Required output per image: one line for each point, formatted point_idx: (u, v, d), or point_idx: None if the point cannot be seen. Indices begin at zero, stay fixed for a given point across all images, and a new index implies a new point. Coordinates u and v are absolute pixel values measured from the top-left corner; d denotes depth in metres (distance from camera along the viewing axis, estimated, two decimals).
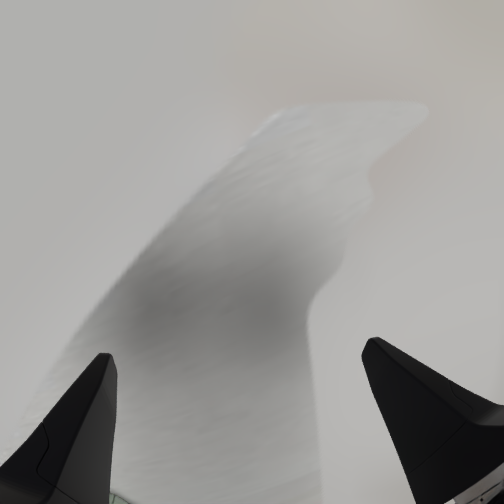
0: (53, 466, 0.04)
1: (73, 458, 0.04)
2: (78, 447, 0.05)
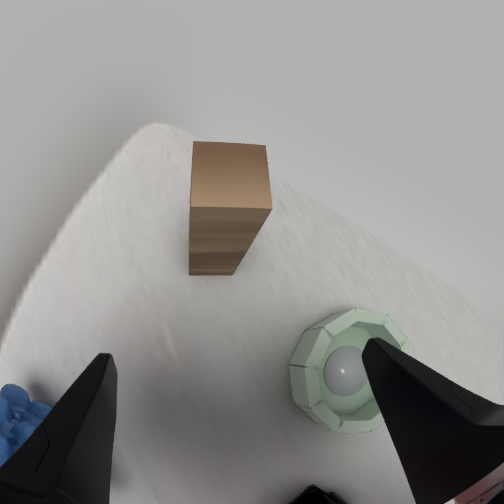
0: (53, 466, 0.04)
1: (73, 458, 0.04)
2: (78, 447, 0.05)
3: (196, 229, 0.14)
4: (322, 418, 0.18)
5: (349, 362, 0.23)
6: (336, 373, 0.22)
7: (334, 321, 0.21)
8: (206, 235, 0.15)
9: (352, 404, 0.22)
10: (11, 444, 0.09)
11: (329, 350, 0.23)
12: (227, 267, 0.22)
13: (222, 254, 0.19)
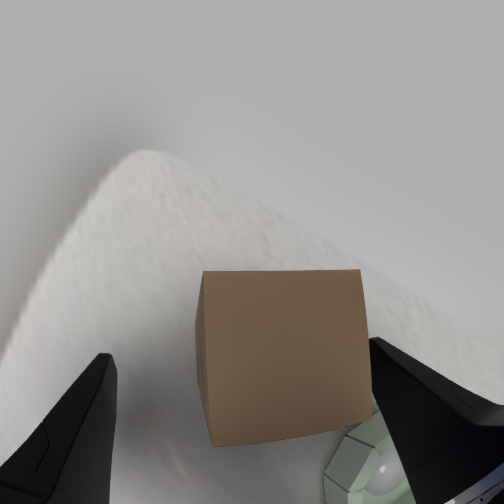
0: (53, 466, 0.04)
1: (73, 458, 0.04)
2: (78, 447, 0.05)
3: None
4: None
5: (392, 462, 0.15)
6: (377, 476, 0.15)
7: (387, 437, 0.13)
8: None
9: (389, 499, 0.14)
10: None
11: None
12: None
13: None
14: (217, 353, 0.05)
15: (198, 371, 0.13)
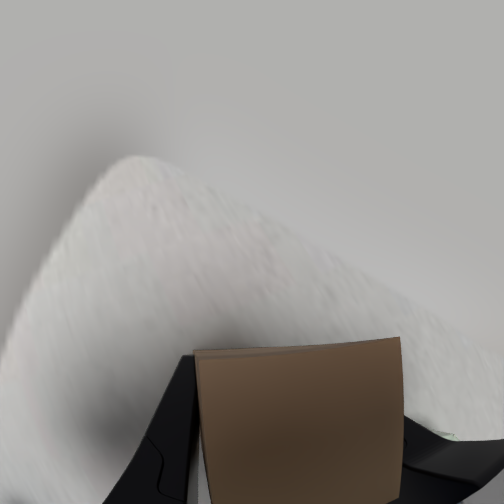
0: (179, 481, 0.04)
1: (190, 467, 0.05)
2: (192, 455, 0.05)
3: None
4: None
5: None
6: None
7: None
8: None
9: None
10: None
11: None
12: None
13: None
14: (222, 460, 0.04)
15: None
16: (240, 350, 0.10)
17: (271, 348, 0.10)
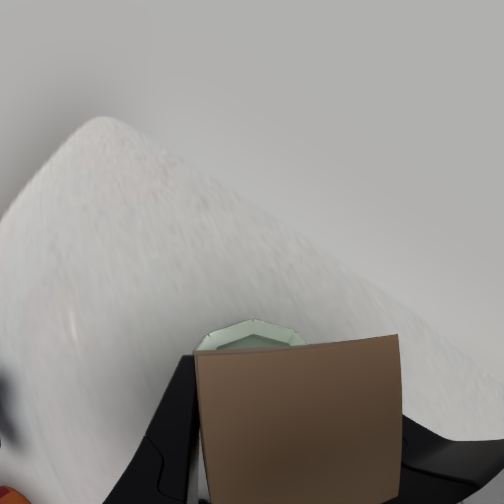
0: (179, 480, 0.04)
1: (190, 467, 0.05)
2: (192, 455, 0.05)
3: None
4: None
5: None
6: None
7: (223, 330, 0.19)
8: None
9: None
10: None
11: None
12: None
13: None
14: (220, 456, 0.04)
15: None
16: None
17: None
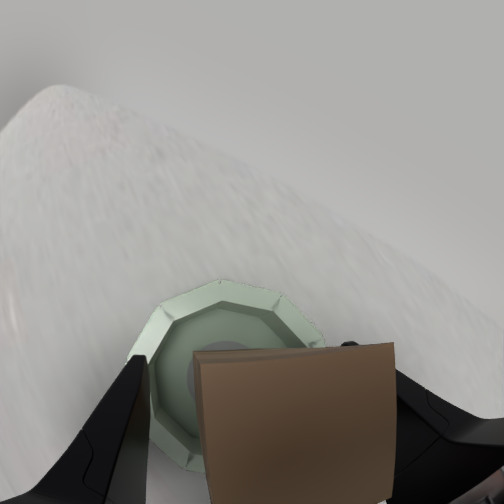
0: (102, 475, 0.04)
1: (119, 465, 0.05)
2: (123, 453, 0.05)
3: None
4: (157, 443, 0.11)
5: None
6: None
7: (179, 297, 0.14)
8: None
9: None
10: None
11: (197, 345, 0.16)
12: None
13: None
14: (222, 458, 0.04)
15: None
16: (239, 352, 0.10)
17: (270, 350, 0.10)
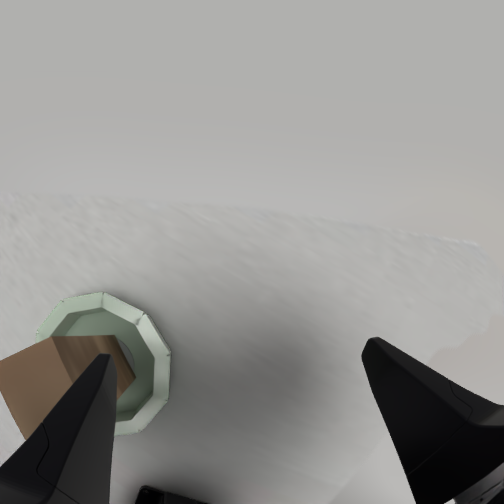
0: (53, 466, 0.04)
1: (73, 458, 0.04)
2: (78, 447, 0.05)
3: None
4: None
5: None
6: None
7: (45, 322, 0.16)
8: None
9: (130, 398, 0.19)
10: None
11: None
12: None
13: None
14: (9, 403, 0.07)
15: None
16: None
17: None
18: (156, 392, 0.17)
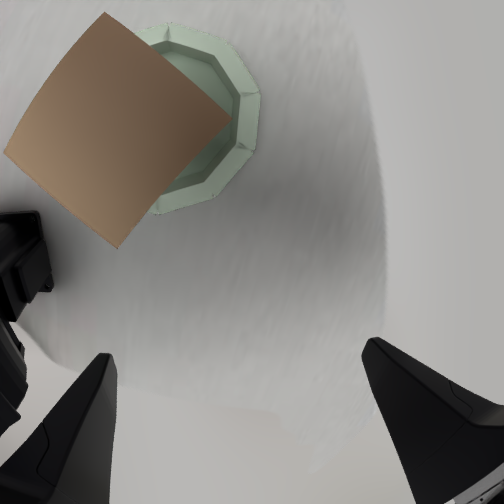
0: (53, 466, 0.04)
1: (73, 458, 0.04)
2: (78, 447, 0.05)
3: None
4: None
5: None
6: None
7: (187, 29, 0.11)
8: None
9: None
10: None
11: None
12: None
13: None
14: (55, 81, 0.04)
15: None
16: None
17: None
18: (162, 198, 0.15)
